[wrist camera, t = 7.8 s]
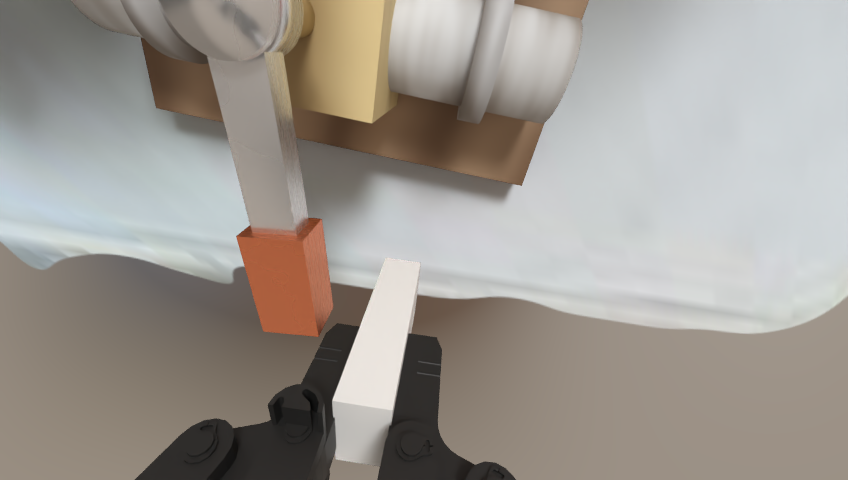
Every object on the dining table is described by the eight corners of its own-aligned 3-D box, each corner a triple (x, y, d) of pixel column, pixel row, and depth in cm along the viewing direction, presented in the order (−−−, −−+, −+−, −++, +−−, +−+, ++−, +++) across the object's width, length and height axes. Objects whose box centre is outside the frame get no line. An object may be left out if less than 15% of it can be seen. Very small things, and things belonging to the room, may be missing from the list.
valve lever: (189, -65, 9) (130, -94, 8) (295, -63, 9) (257, -91, 8) (278, 302, 16) (257, 330, 15) (338, 307, 16) (325, 337, 15)
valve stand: (178, 104, 24) (-29, 137, 14) (125, -176, 17) (-374, -532, 7) (517, 176, 24) (560, 260, 14) (602, -68, 17) (809, -249, 7)
